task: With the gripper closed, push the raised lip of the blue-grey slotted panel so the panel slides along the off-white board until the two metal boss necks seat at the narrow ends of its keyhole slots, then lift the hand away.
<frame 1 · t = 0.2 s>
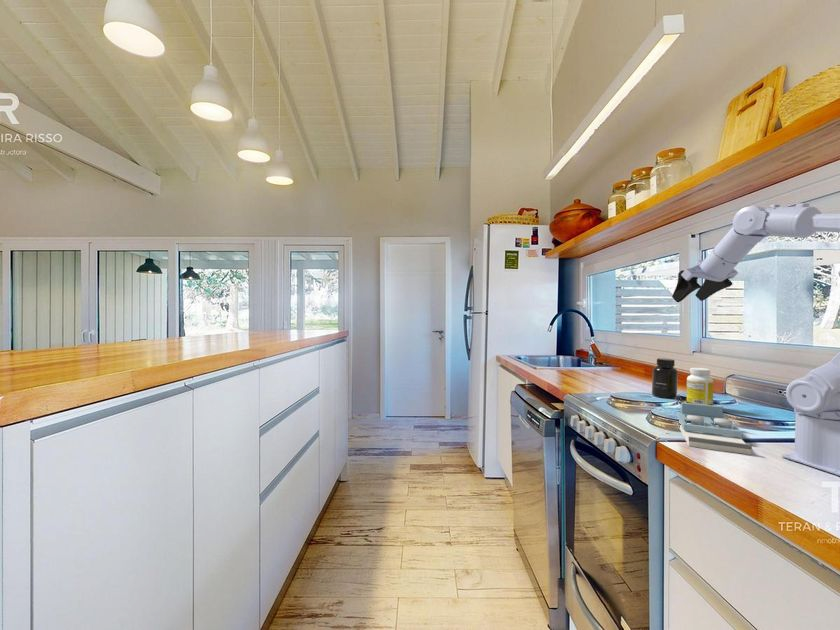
hand: (687, 298, 98), 31 cm above the countertop, tool tilted 45°, fingers open, 7 cm apart
pill bottle: (699, 407, 111), on the countertop
panel: (706, 418, 89), point 3 cm above the countertop, slide at 0.0 cm
supplement bottle: (664, 397, 125), on the countertop
boss board: (708, 435, 86), on the countertop
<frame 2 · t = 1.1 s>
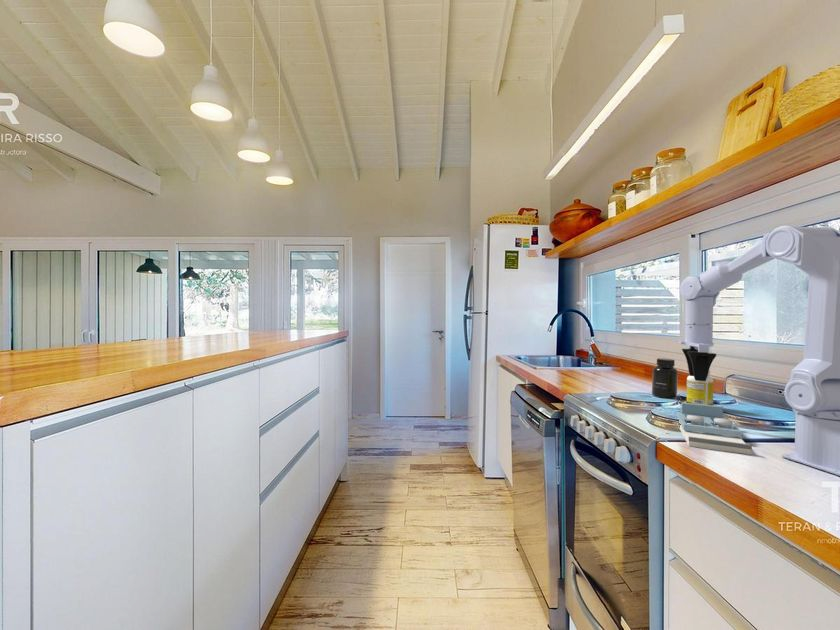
hand: (697, 378, 99), 10 cm above the countertop, tool pointing down, fingers open, 7 cm apart
nothing on the countertop moved.
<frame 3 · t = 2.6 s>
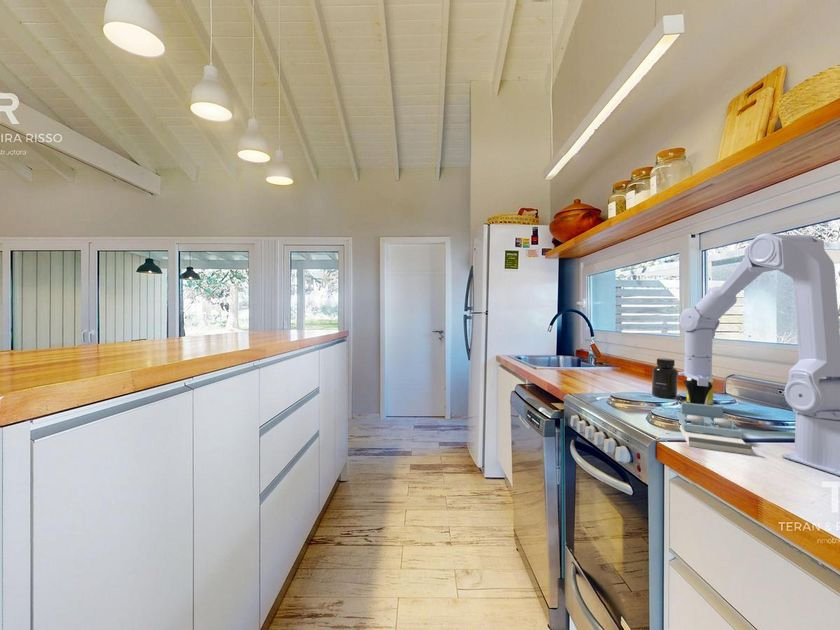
hand: (696, 409, 99), 2 cm above the countertop, tool pointing down, fingers closed
nothing on the countertop moved.
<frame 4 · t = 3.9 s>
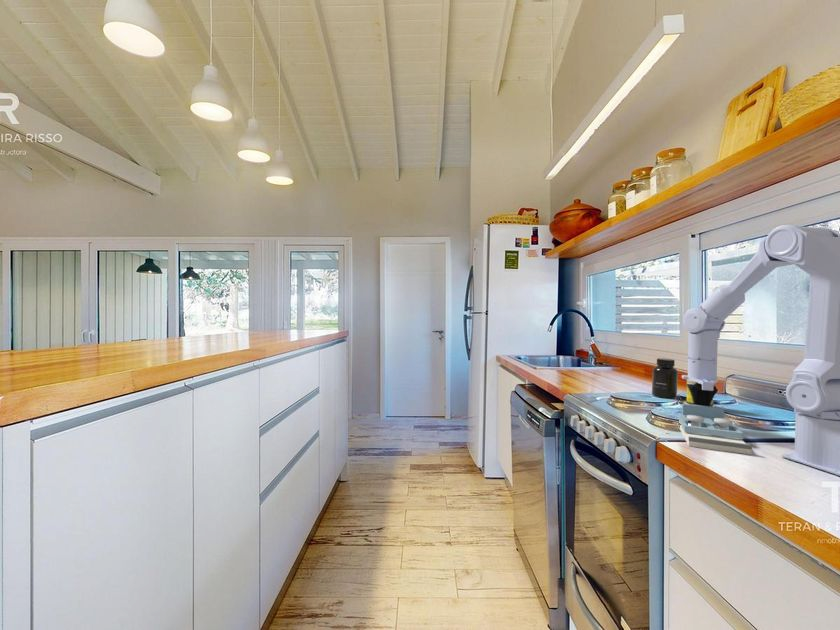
hand: (701, 415, 94), 2 cm above the countertop, tool pointing down, fingers closed
panel: (707, 419, 87), point 3 cm above the countertop, slide at 1.3 cm, touching gripper
everything else where it was.
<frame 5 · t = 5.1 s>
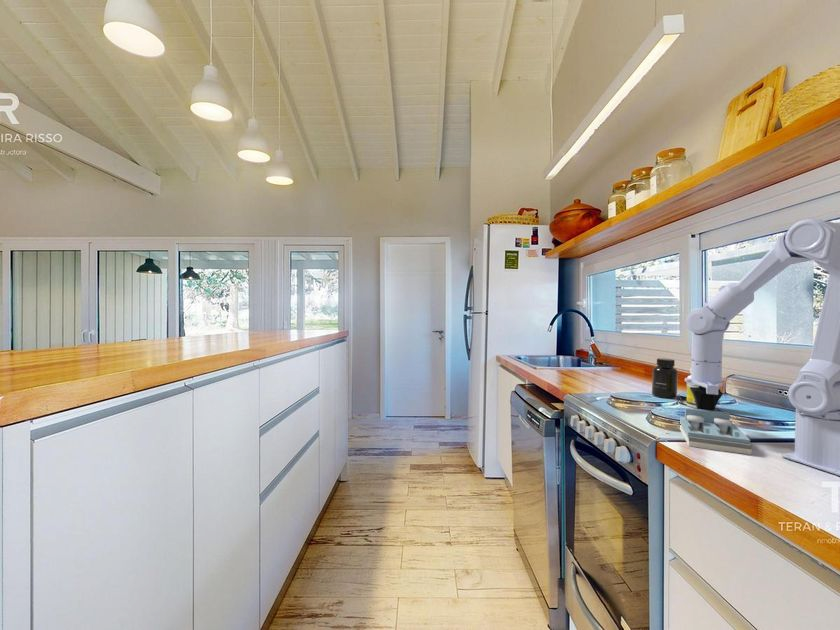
hand: (705, 419, 90), 2 cm above the countertop, tool pointing down, fingers closed
panel: (711, 425, 83), point 3 cm above the countertop, slide at 5.9 cm, touching gripper
everything else where it was.
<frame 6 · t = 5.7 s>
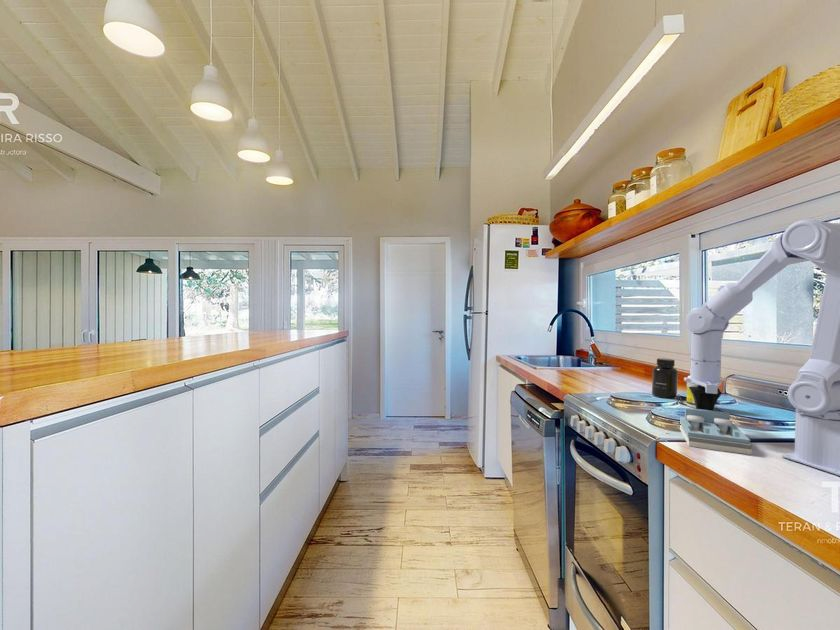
hand: (704, 418, 90), 2 cm above the countertop, tool pointing down, fingers closed
panel: (711, 425, 83), point 3 cm above the countertop, slide at 5.9 cm
everything else where it was.
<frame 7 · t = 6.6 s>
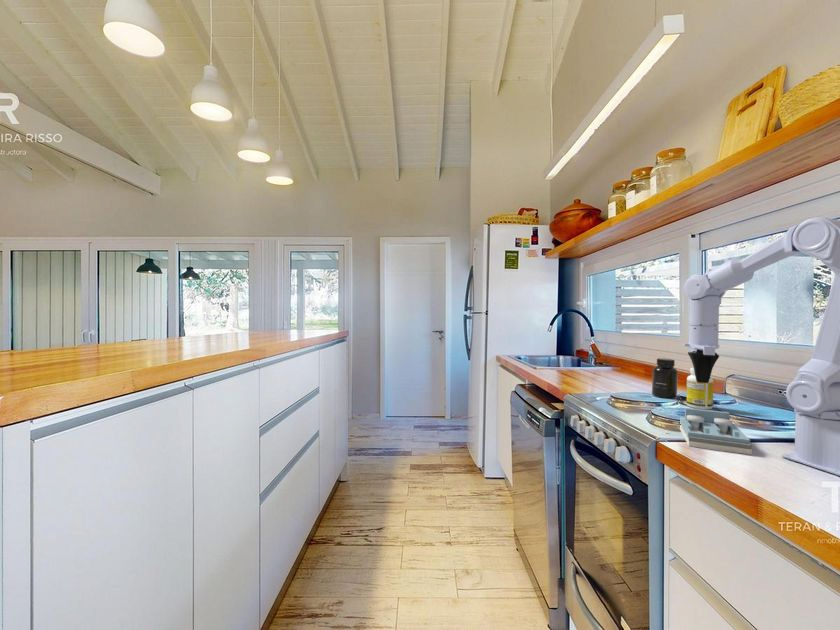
hand: (702, 382, 93), 10 cm above the countertop, tool pointing down, fingers closed
nothing on the countertop moved.
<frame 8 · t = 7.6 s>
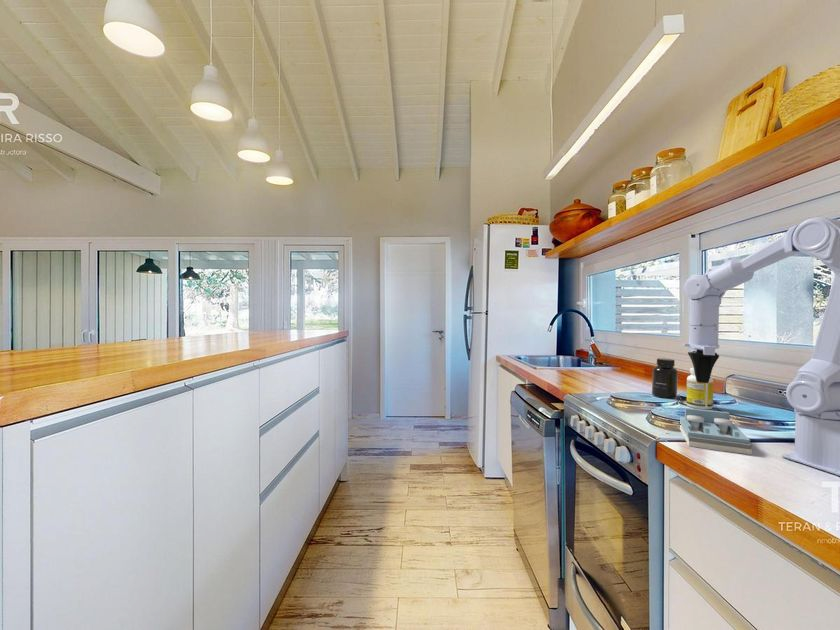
hand: (702, 382, 93), 10 cm above the countertop, tool pointing down, fingers closed
nothing on the countertop moved.
at the end: panel slide at 5.9 cm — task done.
